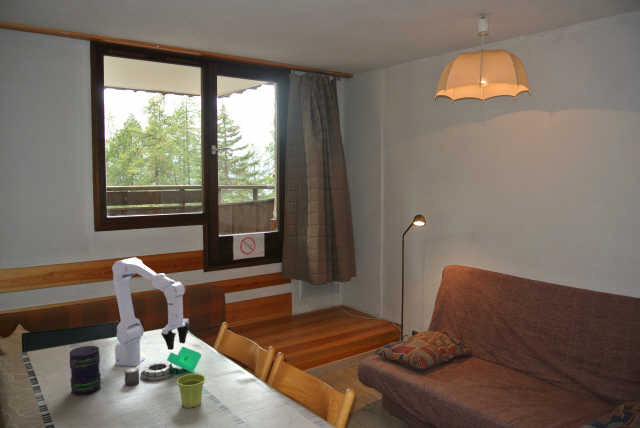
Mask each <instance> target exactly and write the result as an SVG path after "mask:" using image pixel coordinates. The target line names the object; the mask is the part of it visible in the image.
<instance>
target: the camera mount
mask: <svg viewBox="0 0 640 428" xmlns="http://www.w3.org/2000/svg"><path fill="white" fill-rule="evenodd" d="M201 358H202V354H201V353H200V352H199V351H196V350H194V349H191V348H188V347H186V346H181V348H180V350H179V351H178V354H177V353H174V352H170V353H169V354H168V357H167V359H166V362H169V363H171V364H172V365H174V366H177V367H179V368H181V369H184V370H185V371H188V372H190V373H194V371H195V369H196V368H197V365H198V364H199V362H200V360H201Z"/></svg>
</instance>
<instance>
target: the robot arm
mask: <svg viewBox="0 0 640 428" xmlns="http://www.w3.org/2000/svg"><path fill="white" fill-rule="evenodd" d="M111 269H112V274H113V277H112V280H113V285H114V290H115V297H116V301H117V305H118V306H117V307H118V310H119V317H120V322H119V323H118V324H117V326H116V339H117V341H118V342H116V344H115V348H114V360H115V362H114V366H122V367H124V366H130V367H136V366H138V365H139V364H141V362H143V361H144V360H145V357H141V340H142V337H143V336H144V331H145V330H144V328H143V326H142V323H141V320H140V319H139V318H136V317H135V310H134V305H133V300H132V295H131V290H130V285H129V280H130V279H131V278H132V277H133V276H134V275H135V274H137V275H139V276H142V277H143V278H145V279H147V280H149V281H150V282H151V284H152V286H153V287H155V288H156V289H158V290H159V291H161V292H162V293H163V294H164V296H165V299H166V302H167V319H168V321H167V323H168V324H166V325H165V327H164V328H162V330H161V337H163V340H164V341H165V343H166V348H167V350H174V347H175V338H176V335H177V333H178V341H179V344H185V343H186V339H187V335H188V332H189V331H190V327H191V325H190V324H189V323H190V321H189V319H190V318H184V304H183V302H184V301H183V295H184V294H185V293H186V286H185V285H184V284H183V282H181V281H175V280H174V279H171V278H170V277H168V276H167V275H166V274H165V273H161V272H160V273H156V272H155V271H154V270H152V269H151V268H149V267H148V266H146V265H145V264H144V263H143V261H142V260H141V259H139V258H137V257H133V256H132V257H131V258H130V257H129V258H125V259H122V260H121V259H120V260H117V261H115V262H114V264H113V265H112V266H111ZM174 330H177V332H173V331H174Z"/></svg>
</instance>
